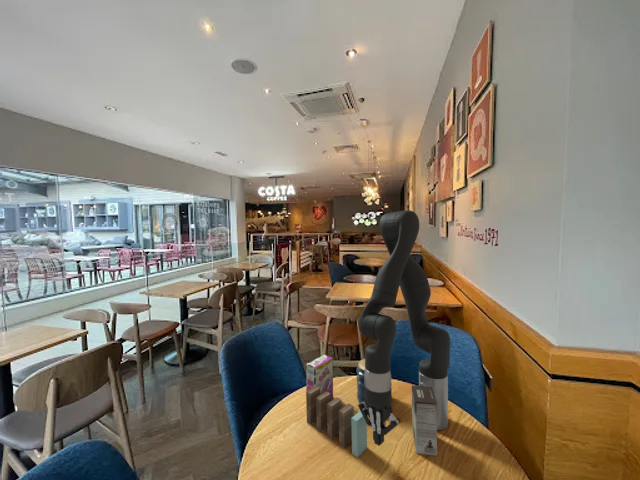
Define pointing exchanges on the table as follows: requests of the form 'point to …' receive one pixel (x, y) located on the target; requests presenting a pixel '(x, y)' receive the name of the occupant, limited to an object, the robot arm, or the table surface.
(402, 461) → the table surface
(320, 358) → the candy bar box
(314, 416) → the domino
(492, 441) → the table surface
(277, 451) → the table surface
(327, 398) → the domino
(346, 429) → the domino
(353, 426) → the domino
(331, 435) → the domino
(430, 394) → the coffee box
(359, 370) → the canister
